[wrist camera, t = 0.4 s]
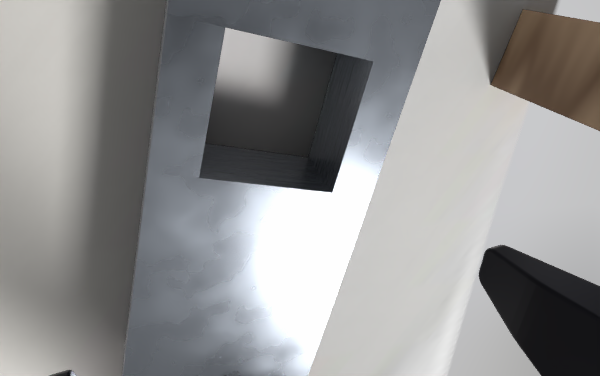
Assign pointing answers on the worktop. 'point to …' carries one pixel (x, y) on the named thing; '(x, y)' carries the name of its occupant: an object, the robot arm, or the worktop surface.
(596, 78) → the walnut peg
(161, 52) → the block
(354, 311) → the worktop surface
